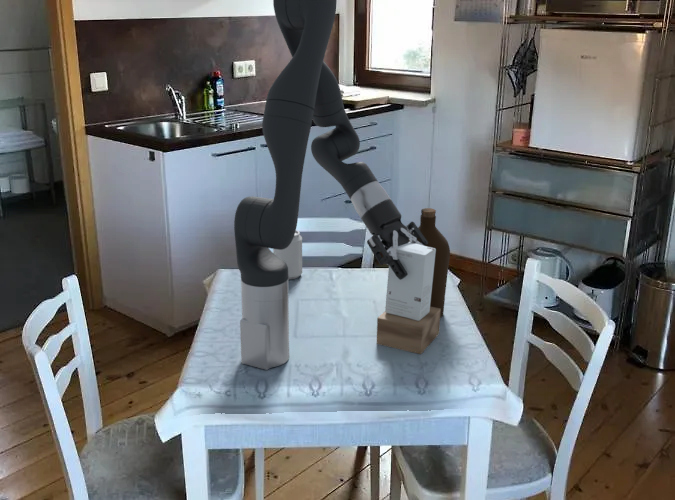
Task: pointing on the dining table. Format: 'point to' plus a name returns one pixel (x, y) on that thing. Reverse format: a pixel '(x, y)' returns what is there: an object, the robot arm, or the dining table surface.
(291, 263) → the can
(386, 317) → the walnut block
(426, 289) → the skincare box
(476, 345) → the dining table surface
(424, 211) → the olive oil
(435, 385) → the dining table surface
